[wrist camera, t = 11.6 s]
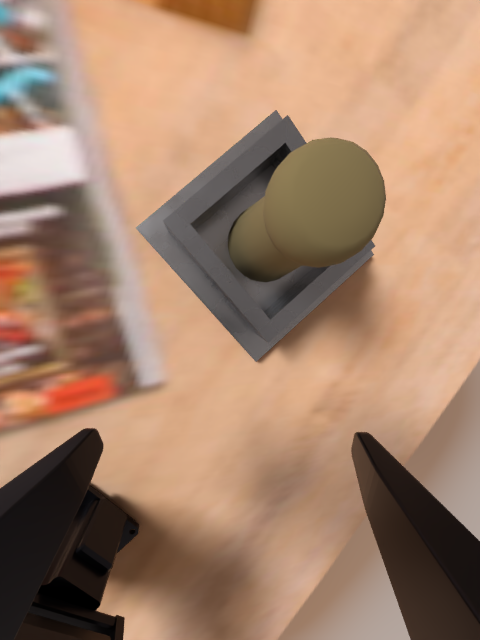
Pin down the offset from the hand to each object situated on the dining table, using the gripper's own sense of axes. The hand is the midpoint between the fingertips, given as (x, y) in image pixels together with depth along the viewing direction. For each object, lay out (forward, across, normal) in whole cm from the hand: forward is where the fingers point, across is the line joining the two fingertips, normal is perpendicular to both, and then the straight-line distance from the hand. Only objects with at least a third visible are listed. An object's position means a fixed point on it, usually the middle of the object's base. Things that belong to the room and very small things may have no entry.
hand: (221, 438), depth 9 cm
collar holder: (+16, -2, -4) cm, 16 cm away
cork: (+15, -2, -4) cm, 16 cm away
